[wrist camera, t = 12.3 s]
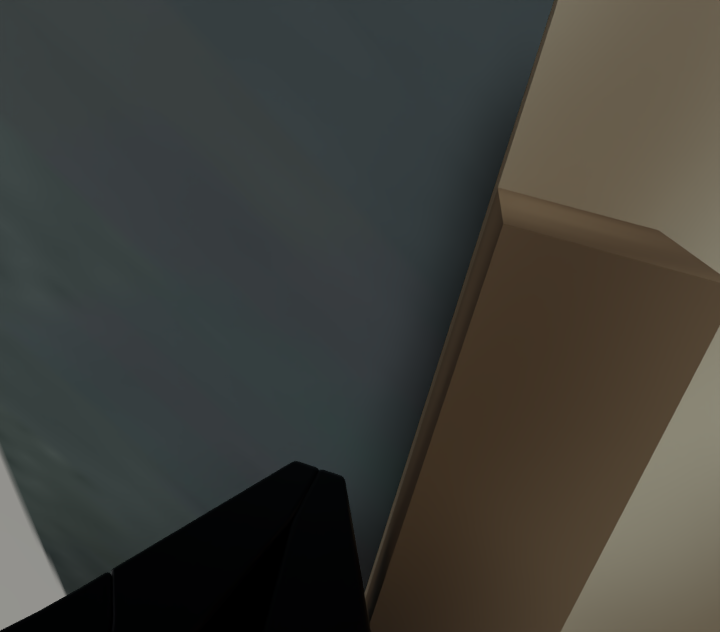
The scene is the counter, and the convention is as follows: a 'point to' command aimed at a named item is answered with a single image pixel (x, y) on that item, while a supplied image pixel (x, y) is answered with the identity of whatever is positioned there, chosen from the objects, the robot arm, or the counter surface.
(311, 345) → the counter surface
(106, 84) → the counter surface
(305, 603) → the robot arm
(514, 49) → the counter surface
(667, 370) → the lid
